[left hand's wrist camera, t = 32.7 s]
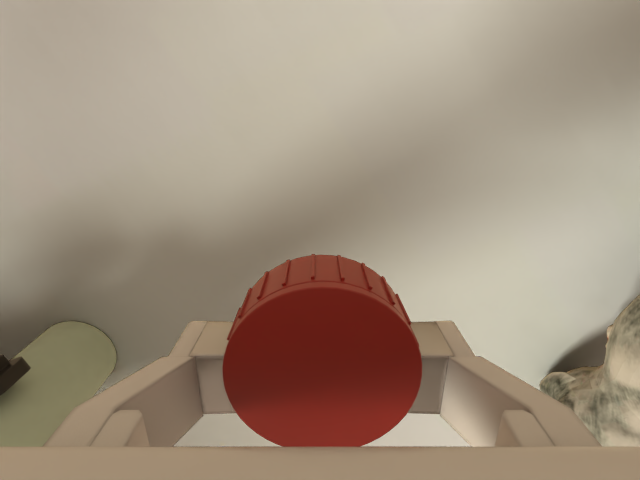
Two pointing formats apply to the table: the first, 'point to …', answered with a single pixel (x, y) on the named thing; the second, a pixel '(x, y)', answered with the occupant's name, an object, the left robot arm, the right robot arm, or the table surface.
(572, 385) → the figurine
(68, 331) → the bottle
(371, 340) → the cap
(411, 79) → the table surface
